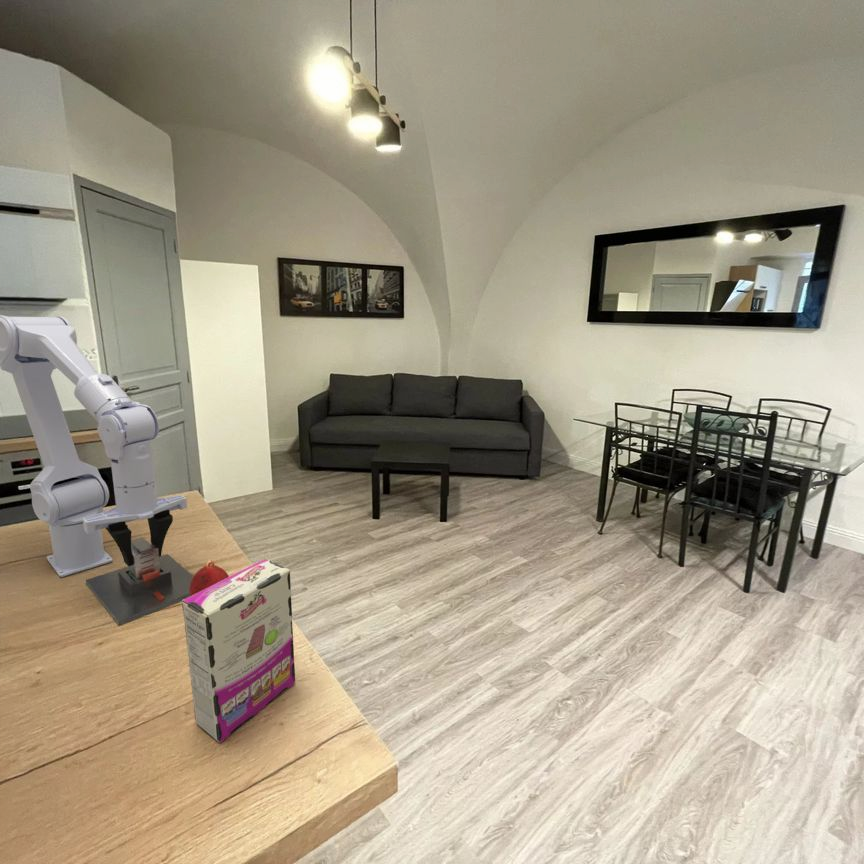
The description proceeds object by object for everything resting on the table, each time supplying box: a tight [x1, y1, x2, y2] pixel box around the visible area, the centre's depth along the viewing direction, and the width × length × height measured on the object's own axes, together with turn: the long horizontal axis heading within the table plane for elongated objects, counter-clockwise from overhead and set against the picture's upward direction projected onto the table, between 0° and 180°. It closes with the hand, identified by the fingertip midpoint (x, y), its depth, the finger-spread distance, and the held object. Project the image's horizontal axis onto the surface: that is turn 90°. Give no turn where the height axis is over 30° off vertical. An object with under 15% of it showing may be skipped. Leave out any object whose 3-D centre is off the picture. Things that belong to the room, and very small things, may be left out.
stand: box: [85, 553, 194, 626], centre depth 81 cm, size 16×13×4 cm
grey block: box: [127, 536, 161, 581], centre depth 80 cm, size 5×4×6 cm
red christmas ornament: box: [190, 559, 230, 596], centre depth 76 cm, size 6×6×8 cm
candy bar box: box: [181, 558, 296, 744], centre depth 56 cm, size 11×5×16 cm, turn 148°
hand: (143, 559), depth 80 cm, fingers closed on grey block, 4 cm apart
